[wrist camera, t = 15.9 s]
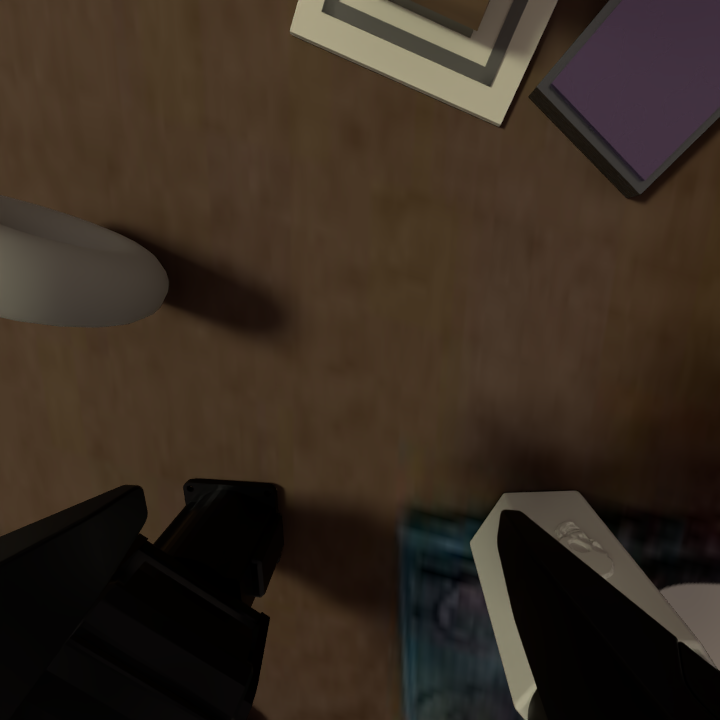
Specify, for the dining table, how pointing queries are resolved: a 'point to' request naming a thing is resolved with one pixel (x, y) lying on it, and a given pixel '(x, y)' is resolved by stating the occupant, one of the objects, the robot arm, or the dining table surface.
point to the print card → (432, 48)
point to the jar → (590, 544)
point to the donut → (73, 270)
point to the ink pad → (637, 87)
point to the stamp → (449, 12)
